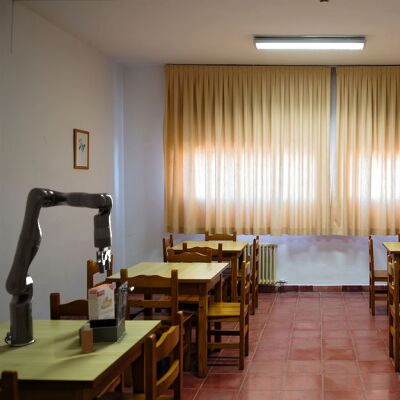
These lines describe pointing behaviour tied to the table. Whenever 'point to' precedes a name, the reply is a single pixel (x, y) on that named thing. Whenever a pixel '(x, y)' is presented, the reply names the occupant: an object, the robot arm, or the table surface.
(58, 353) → the table surface
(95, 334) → the warmer
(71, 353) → the table surface
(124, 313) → the lid
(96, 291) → the cracker box
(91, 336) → the bottle
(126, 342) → the table surface
